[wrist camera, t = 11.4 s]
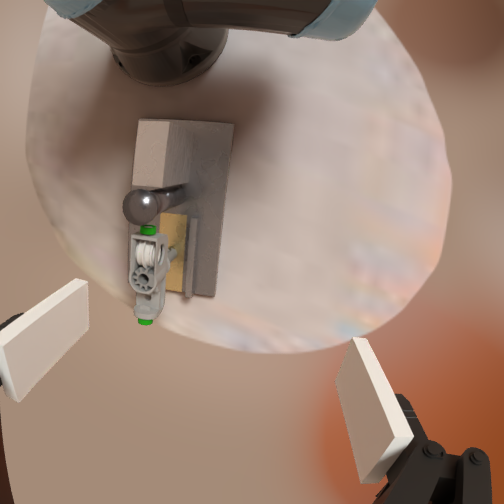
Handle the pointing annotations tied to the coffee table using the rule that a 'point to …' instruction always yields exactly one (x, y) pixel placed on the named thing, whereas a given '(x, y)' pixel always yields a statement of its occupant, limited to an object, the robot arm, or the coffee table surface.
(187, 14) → the robot arm
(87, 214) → the coffee table surface
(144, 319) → the mechanical component
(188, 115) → the coffee table surface
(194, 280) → the hinge base
